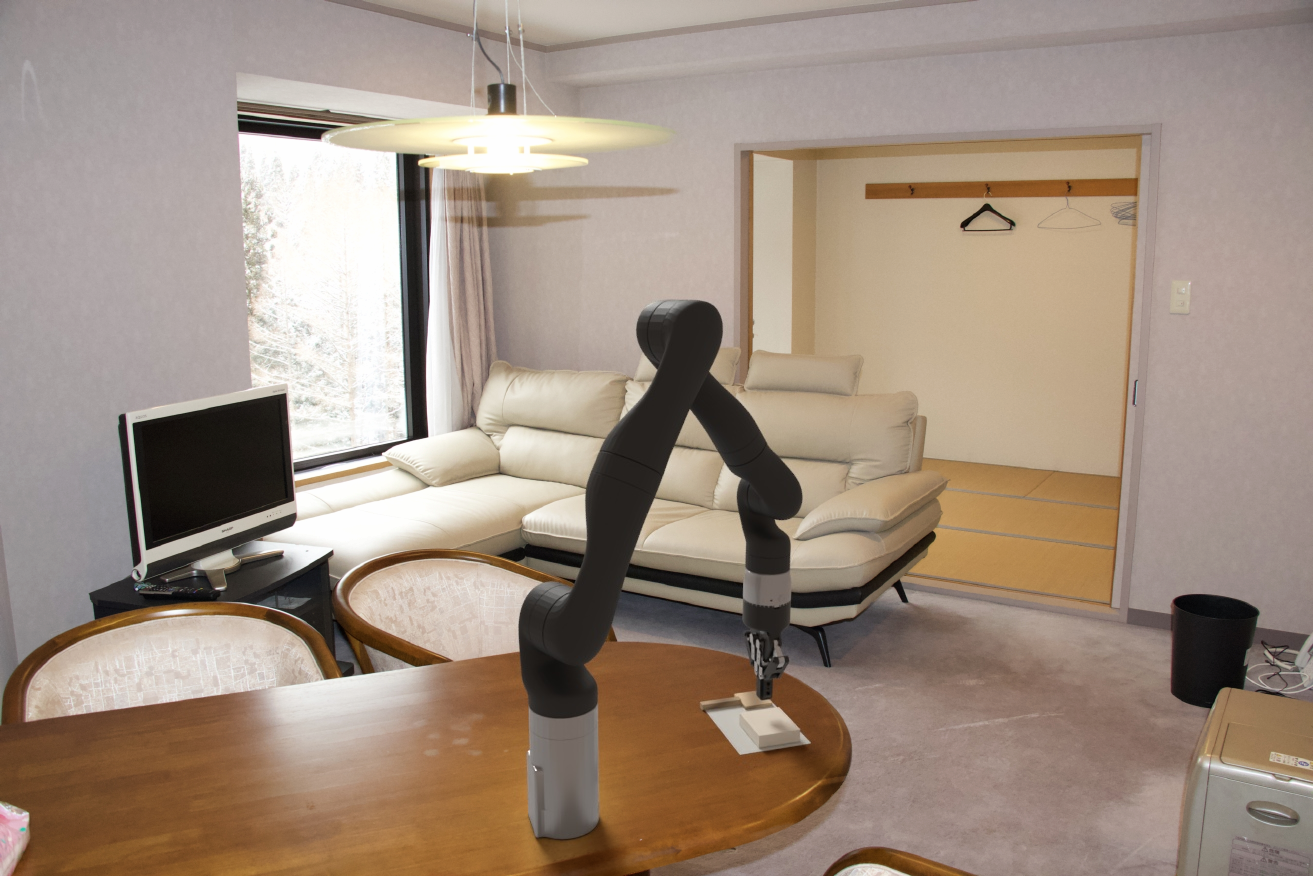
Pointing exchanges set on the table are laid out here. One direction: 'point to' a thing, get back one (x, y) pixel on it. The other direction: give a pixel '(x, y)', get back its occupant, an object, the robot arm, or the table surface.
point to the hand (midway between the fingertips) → (764, 698)
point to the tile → (769, 727)
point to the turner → (737, 702)
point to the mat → (737, 736)
